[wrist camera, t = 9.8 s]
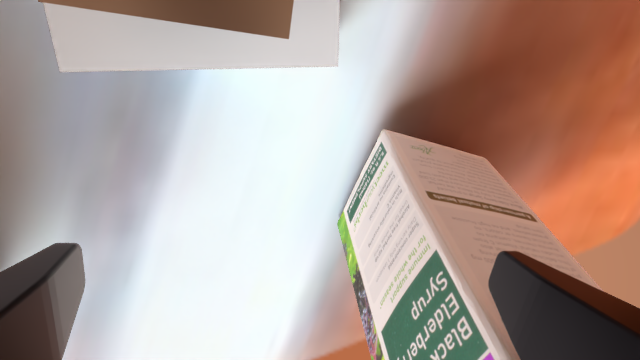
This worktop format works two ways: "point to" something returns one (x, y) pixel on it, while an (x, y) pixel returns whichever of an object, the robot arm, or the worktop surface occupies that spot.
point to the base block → (189, 41)
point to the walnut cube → (203, 13)
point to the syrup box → (437, 250)
